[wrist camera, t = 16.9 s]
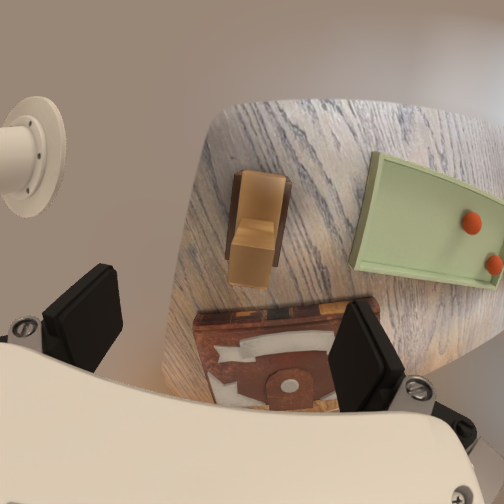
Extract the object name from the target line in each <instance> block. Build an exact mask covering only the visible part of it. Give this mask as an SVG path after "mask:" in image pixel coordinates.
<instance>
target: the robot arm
mask: <svg viewBox="0 0 504 504" xmlns="http://www.w3.org/2000/svg"><path fill="white" fill-rule="evenodd" d="M46 160H47V144H46V137H45V133H44V130H43V127H42V125H41V123H40V122H39V121H38V120H37V119H36V118H35V117H33V116H20V117H18V118H17V119H15V120H14V121H13V122H12V123H11V124H10V126H9V127H2V128H0V196H3V195H6V194H9V195H10V196H11V197H12V198H13V199H15V200H25V199H27V198H29V197H31V196H32V195H33V194H34V193H35V192H36V191H37V189H38V188H39V186H40V184H41V181H42V179H43V176H44V172H45V167H46ZM42 315H43V320H42V321H40V320H39V319H38V318H37V317H35V316H23V317H20V318H18V319H16V320H15V321H14V322H13V323H12V324H11V325H10V328H9V332H8V335H6V336H1V337H0V504H493V503H494V501H495V500H496V498H497V496H498V494H499V492H500V491H501V489H502V487H503V485H504V457H503V456H501V455H500V454H499V453H498V452H497V451H496V450H495V449H494V448H493V447H491V446H490V445H489V444H488V443H487V442H486V441H485V440H484V439H482V438H481V437H480V438H478V439H477V438H476V437H477V431H476V427H475V425H474V423H473V422H472V421H471V420H470V419H468V418H467V417H465V416H463V415H461V414H459V413H457V412H455V411H453V410H451V409H450V408H448V407H446V406H444V405H442V404H440V403H438V402H437V401H435V399H436V390H435V387H434V386H433V384H432V383H431V382H430V381H429V380H428V379H426V378H424V377H422V376H419V375H408V376H407V377H406V375H405V373H404V370H405V368H404V366H403V364H402V362H401V360H400V358H399V357H398V355H397V353H396V351H395V349H394V347H393V345H392V344H391V342H390V340H389V338H388V336H387V335H386V333H385V331H384V329H383V328H382V326H381V324H380V322H379V321H378V319H377V317H376V315H375V314H374V312H373V310H372V309H371V307H370V305H369V303H368V302H367V301H359V300H353V301H352V302H351V303H348V304H347V306H346V309H345V312H344V315H343V317H342V320H341V323H340V326H339V329H338V331H337V334H336V337H335V339H334V342H333V345H332V347H331V350H330V352H329V355H328V363H329V367H330V371H331V375H332V379H333V383H334V387H335V391H336V396H337V400H338V404H339V409H340V413H312V412H285V411H270V410H259V409H249V408H240V407H232V406H225V405H218V404H212V403H206V402H200V401H195V400H190V399H185V398H180V397H175V396H171V395H166V394H162V393H158V392H154V391H150V390H146V389H142V388H139V387H135V386H132V385H128V384H125V383H122V382H118V381H115V380H112V379H109V378H106V377H103V376H100V375H97V374H94V372H95V370H96V368H97V367H98V365H99V364H100V362H101V361H102V359H103V358H104V356H105V355H106V353H107V352H108V350H109V348H110V347H111V345H112V344H113V343H114V341H115V340H116V338H117V337H118V335H119V334H120V332H121V331H122V327H123V320H122V313H121V307H120V298H119V290H118V280H117V272H116V270H114V269H113V266H111V265H106V264H101V263H99V264H98V265H97V266H95V267H94V268H93V269H92V270H90V271H89V272H88V273H87V274H85V275H84V276H83V277H82V278H81V279H80V280H78V281H77V282H76V283H75V284H74V285H73V286H71V287H70V288H69V289H68V290H67V291H66V292H65V293H64V294H62V295H61V296H60V297H59V298H58V299H57V300H56V301H55V302H54V303H52V304H51V305H50V306H49V307H48V308H47V309H46V310H45V311H44V312H43V313H42Z"/></svg>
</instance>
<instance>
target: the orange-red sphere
mask: <svg viewBox="0 0 504 504" xmlns="http://www.w3.org/2000/svg"><path fill="white" fill-rule="evenodd" d="M502 267H503V263H502V260H501V258H500V257H499V256H497V255H493V256H491V257H489V259H488V260H487V263H486V268H487V271H488V272H489V273H490V274H491V275H498V274H499V273H500V272H501V270H502Z"/></svg>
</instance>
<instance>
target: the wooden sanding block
mask: <svg viewBox="0 0 504 504" xmlns="http://www.w3.org/2000/svg"><path fill="white" fill-rule="evenodd" d="M285 182H286V178H285V176H284V175H279V174H272V173H265V172H258V171H251V170H245V171H243V172H242V179H241V187H240V194H239V203H238V211H237V219H236V227H235V236H234V238H233V241H232V243H231V249H230V258H229V267H228V277H227V282H229V284H231V285H237V286H244V287H251V288H257V289H264V290H267V289H268V286H269V281H270V275H271V269H272V264H273V258H274V252H275V243H276V237H277V231H278V225H279V219H280V213H281V207H282V201H283V195H284V188H285Z"/></svg>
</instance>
